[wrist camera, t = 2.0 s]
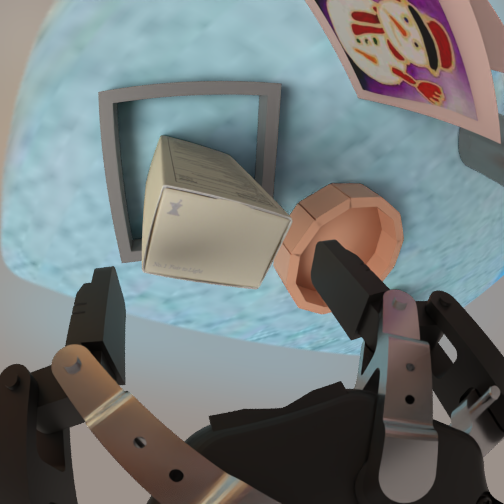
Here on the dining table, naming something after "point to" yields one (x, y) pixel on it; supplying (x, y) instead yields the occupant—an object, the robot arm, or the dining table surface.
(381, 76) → the greeting card
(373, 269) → the bowl
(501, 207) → the dining table surface
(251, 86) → the open rectangular frame
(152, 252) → the skincare box
